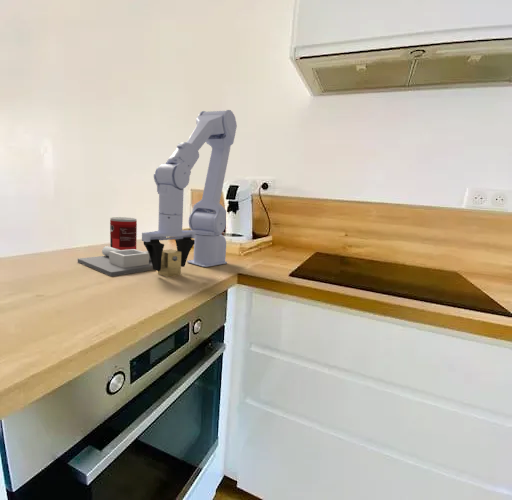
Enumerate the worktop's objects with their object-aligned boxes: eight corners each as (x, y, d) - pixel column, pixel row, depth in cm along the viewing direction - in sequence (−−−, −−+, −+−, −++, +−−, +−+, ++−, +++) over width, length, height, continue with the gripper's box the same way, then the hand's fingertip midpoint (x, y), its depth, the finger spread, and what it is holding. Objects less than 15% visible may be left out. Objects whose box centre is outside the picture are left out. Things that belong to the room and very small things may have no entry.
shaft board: (138, 255, 100) (138, 242, 99) (174, 266, 89) (174, 252, 88) (77, 262, 86) (77, 247, 85) (111, 276, 75) (111, 259, 74)
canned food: (118, 249, 107) (118, 216, 105) (140, 251, 106) (141, 218, 104) (105, 253, 100) (104, 218, 98) (128, 255, 99) (129, 220, 97)
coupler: (170, 271, 83) (170, 249, 82) (181, 275, 81) (182, 252, 80) (157, 273, 80) (157, 250, 79) (168, 277, 78) (168, 253, 76)
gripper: (183, 212, 86) (182, 261, 88) (134, 212, 75) (134, 268, 77) (201, 215, 82) (199, 266, 84) (152, 215, 70) (151, 274, 73)
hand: (169, 268), depth 80 cm, fingers open, 7 cm apart
